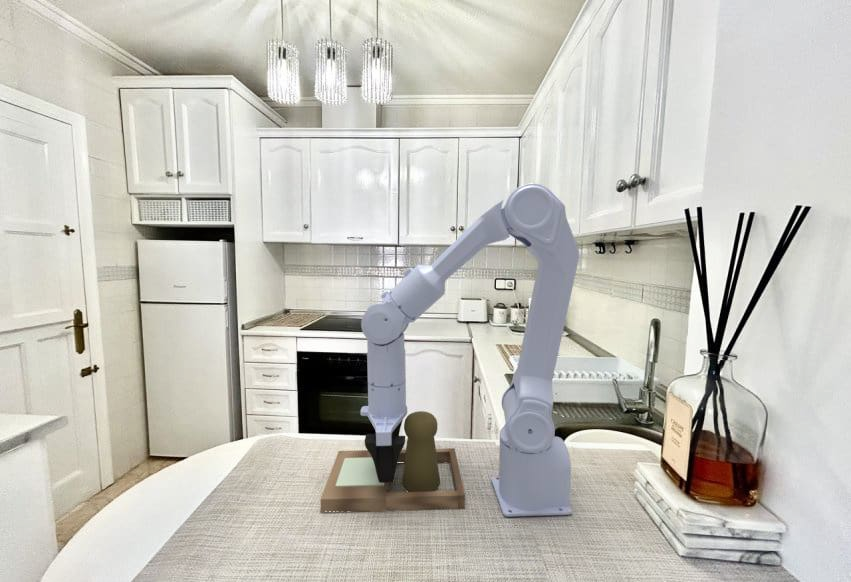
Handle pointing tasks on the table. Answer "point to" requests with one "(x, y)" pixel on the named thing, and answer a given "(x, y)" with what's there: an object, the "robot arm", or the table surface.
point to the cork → (420, 453)
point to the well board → (384, 486)
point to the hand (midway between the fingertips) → (388, 465)
